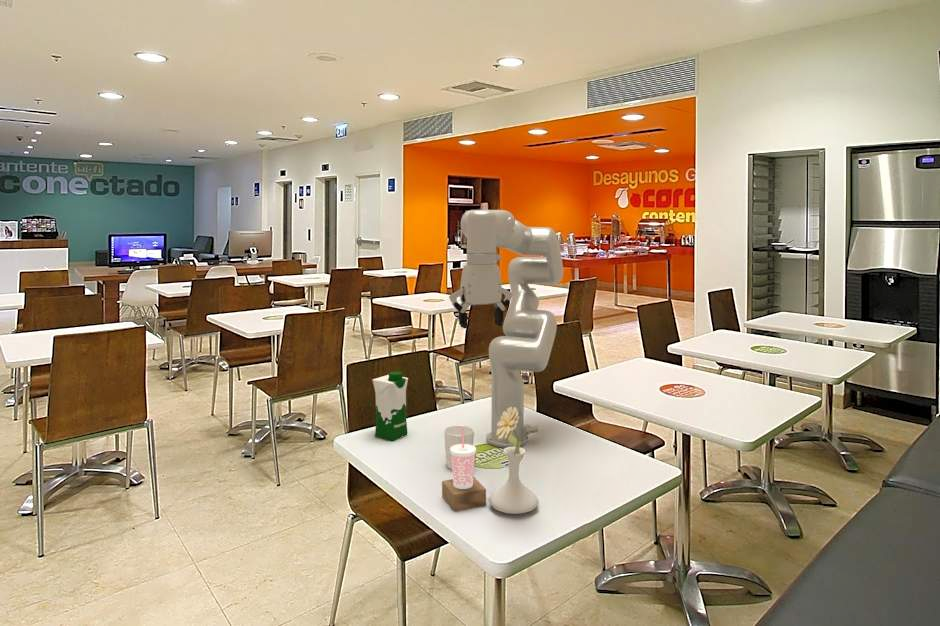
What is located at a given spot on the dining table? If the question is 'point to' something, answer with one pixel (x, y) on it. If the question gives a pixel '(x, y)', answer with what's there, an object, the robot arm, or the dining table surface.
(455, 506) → the riser
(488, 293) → the robot arm
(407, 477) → the dining table surface
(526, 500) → the flower in vase
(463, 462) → the beverage cup
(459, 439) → the white cup
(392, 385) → the milk carton
